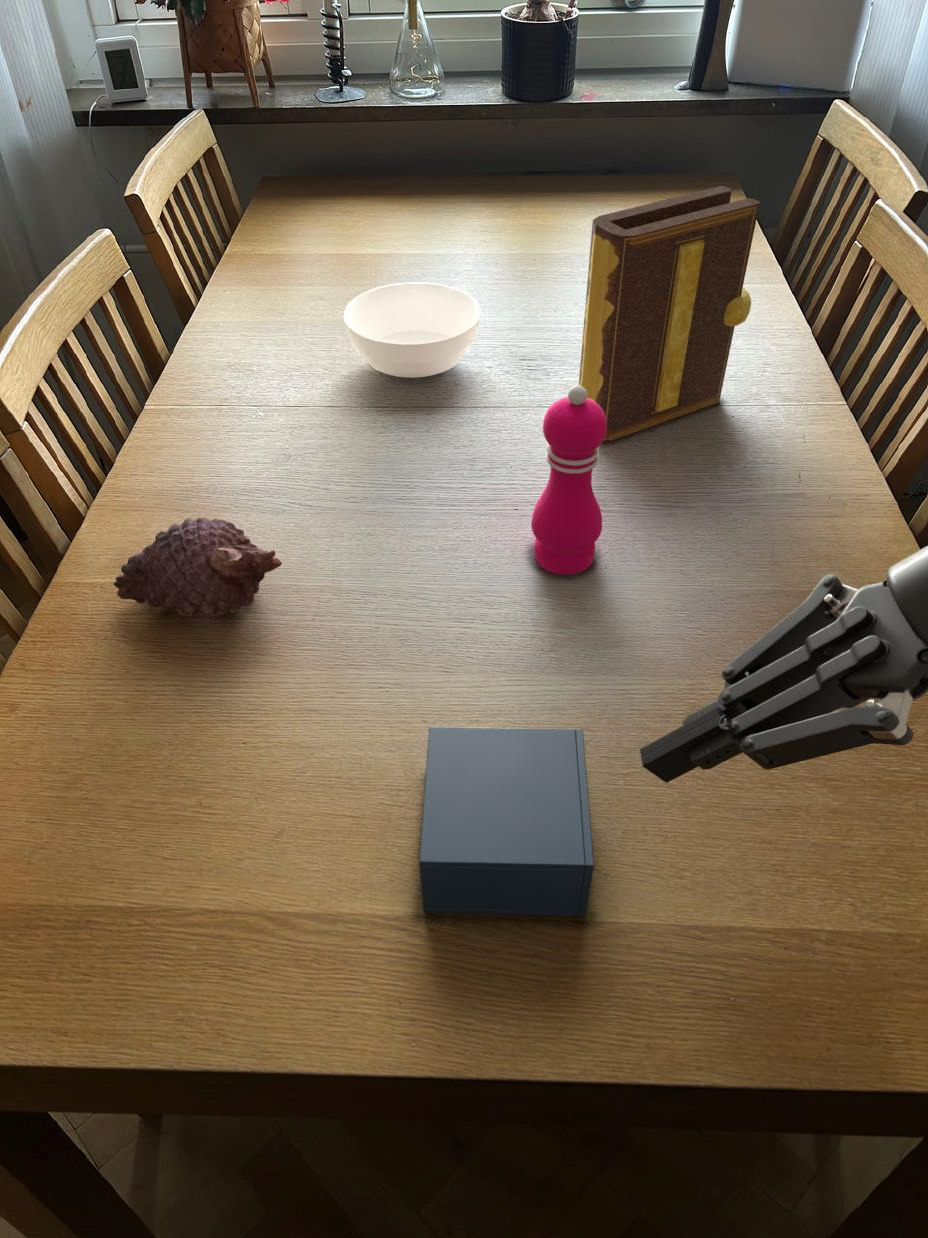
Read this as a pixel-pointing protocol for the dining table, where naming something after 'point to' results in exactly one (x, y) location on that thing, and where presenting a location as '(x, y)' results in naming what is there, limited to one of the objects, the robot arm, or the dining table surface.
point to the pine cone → (197, 569)
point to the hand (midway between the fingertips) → (653, 766)
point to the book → (664, 306)
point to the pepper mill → (570, 485)
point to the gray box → (506, 822)
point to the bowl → (412, 327)
